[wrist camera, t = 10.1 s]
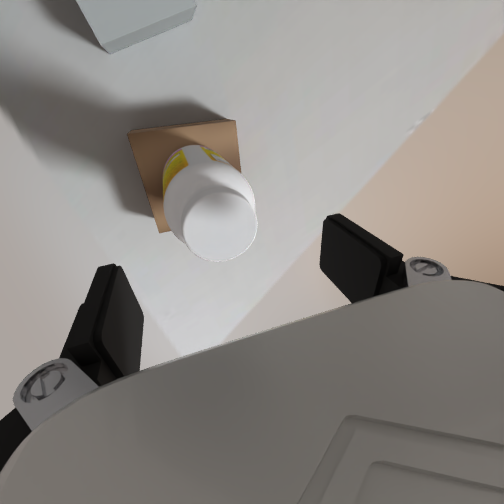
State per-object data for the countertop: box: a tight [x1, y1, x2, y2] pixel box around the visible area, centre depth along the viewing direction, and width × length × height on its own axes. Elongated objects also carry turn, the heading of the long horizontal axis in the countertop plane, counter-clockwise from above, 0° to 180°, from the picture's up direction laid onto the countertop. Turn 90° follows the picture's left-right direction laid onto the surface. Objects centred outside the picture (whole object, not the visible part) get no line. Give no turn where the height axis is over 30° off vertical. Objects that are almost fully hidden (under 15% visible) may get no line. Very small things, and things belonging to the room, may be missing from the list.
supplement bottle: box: [163, 145, 258, 262], centre depth 20 cm, size 7×7×13 cm
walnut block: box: [127, 119, 241, 233], centre depth 27 cm, size 10×10×4 cm
